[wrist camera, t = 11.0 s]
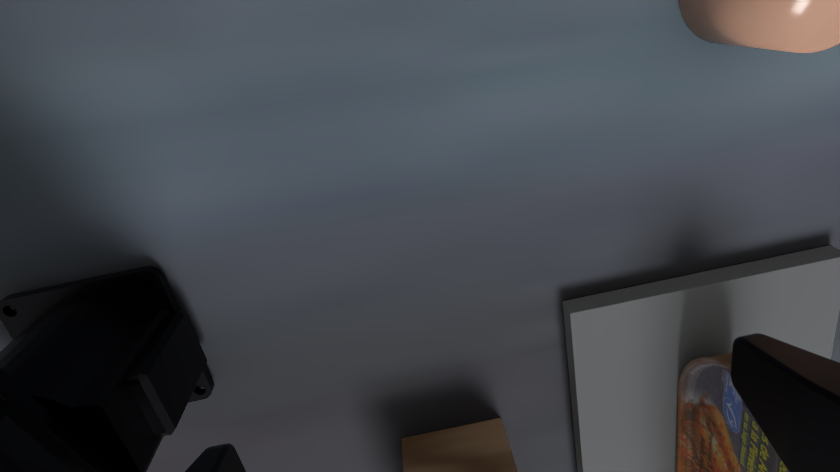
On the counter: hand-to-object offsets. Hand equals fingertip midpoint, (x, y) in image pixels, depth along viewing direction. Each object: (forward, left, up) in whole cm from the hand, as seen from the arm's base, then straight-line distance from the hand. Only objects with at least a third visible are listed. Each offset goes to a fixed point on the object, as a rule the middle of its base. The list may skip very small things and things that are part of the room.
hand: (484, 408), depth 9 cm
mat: (+11, -16, -12) cm, 23 cm away
